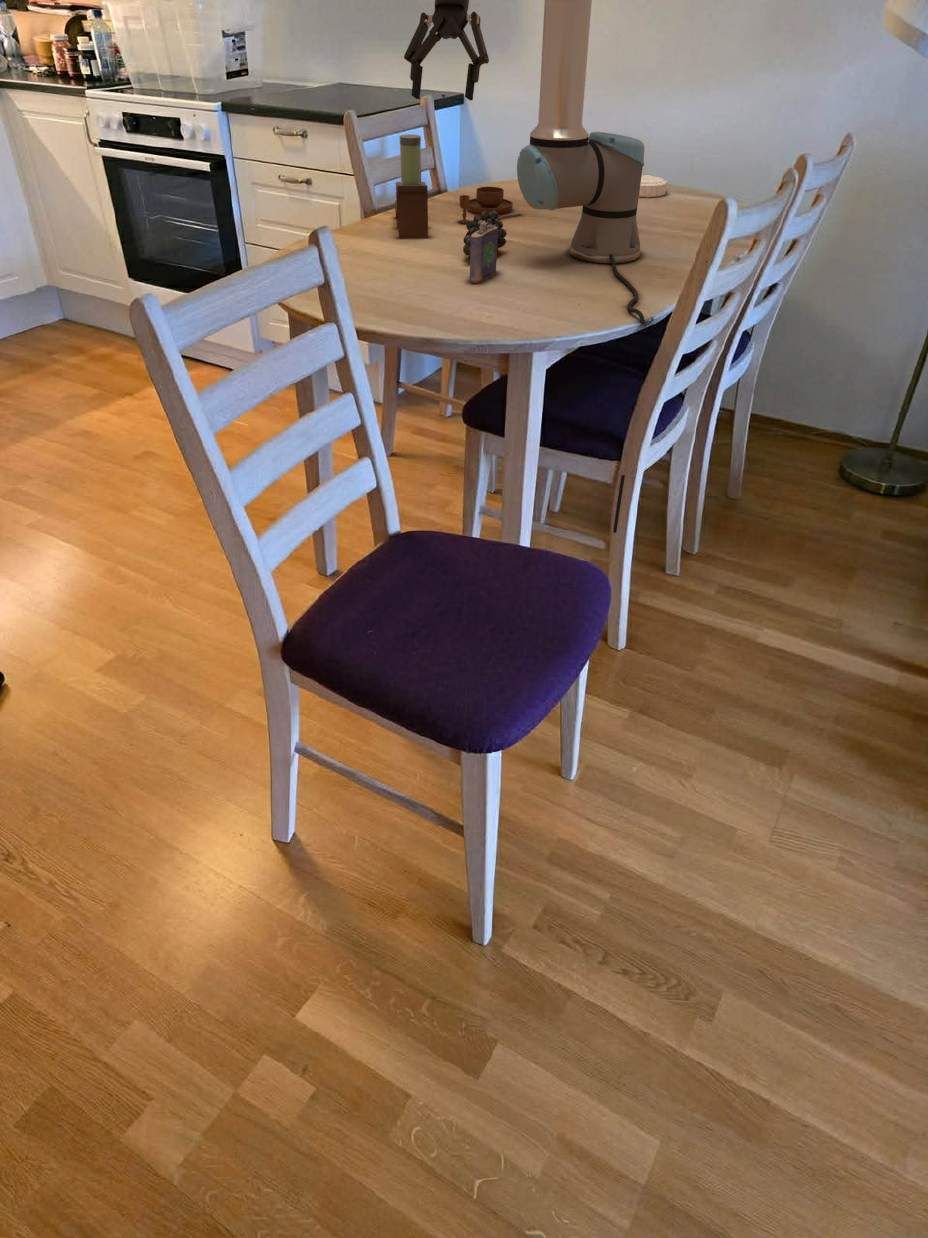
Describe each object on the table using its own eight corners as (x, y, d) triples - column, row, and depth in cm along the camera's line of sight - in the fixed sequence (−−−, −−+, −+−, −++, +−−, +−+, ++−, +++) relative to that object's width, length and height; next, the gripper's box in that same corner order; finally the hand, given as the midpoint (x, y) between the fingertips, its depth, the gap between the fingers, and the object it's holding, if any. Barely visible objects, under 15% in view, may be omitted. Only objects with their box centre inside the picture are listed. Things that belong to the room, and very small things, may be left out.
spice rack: (428, 237, 194) (427, 185, 187) (398, 238, 193) (397, 185, 186) (423, 217, 208) (422, 168, 201) (395, 217, 208) (394, 168, 201)
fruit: (475, 220, 171) (505, 203, 181) (441, 229, 175) (472, 211, 185) (487, 263, 175) (515, 244, 185) (453, 271, 179) (483, 252, 190)
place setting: (529, 214, 212) (530, 188, 208) (464, 224, 203) (464, 198, 199) (489, 200, 223) (489, 175, 219) (425, 209, 214) (425, 184, 211)
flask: (478, 284, 167) (479, 226, 160) (465, 282, 168) (465, 224, 162) (499, 272, 173) (501, 216, 167) (486, 270, 175) (488, 214, 168)
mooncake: (655, 199, 226) (657, 184, 224) (614, 193, 231) (616, 179, 229) (672, 191, 234) (674, 177, 232) (632, 185, 239) (634, 171, 237)
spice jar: (422, 188, 189) (421, 137, 183) (401, 188, 189) (399, 137, 182) (421, 183, 193) (420, 134, 186) (400, 183, 192) (399, 134, 186)
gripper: (511, -6, 183) (498, 104, 190) (411, -4, 192) (401, 101, 199) (498, -21, 177) (485, 93, 183) (395, -18, 185) (386, 91, 192)
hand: (441, 97), depth 191 cm, fingers open, 13 cm apart
